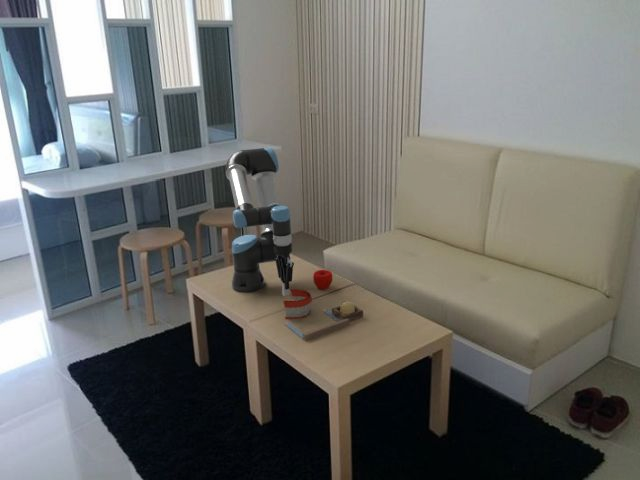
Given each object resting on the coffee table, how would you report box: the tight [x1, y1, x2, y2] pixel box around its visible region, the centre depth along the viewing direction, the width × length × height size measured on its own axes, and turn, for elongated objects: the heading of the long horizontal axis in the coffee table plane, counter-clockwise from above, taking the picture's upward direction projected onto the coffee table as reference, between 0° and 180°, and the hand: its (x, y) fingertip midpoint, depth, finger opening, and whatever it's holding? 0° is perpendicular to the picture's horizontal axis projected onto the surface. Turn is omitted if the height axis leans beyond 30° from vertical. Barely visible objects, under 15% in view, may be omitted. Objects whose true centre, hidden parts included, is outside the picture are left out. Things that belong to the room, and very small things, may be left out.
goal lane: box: [284, 309, 350, 342], centre depth 227 cm, size 16×20×2 cm
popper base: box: [331, 305, 364, 323], centre depth 233 cm, size 9×9×3 cm
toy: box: [283, 288, 313, 320], centre depth 236 cm, size 12×10×8 cm
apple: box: [312, 269, 333, 291], centre depth 258 cm, size 9×9×8 cm
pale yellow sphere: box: [339, 300, 355, 315], centre depth 232 cm, size 6×6×6 cm
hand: (286, 295), depth 245 cm, fingers closed
